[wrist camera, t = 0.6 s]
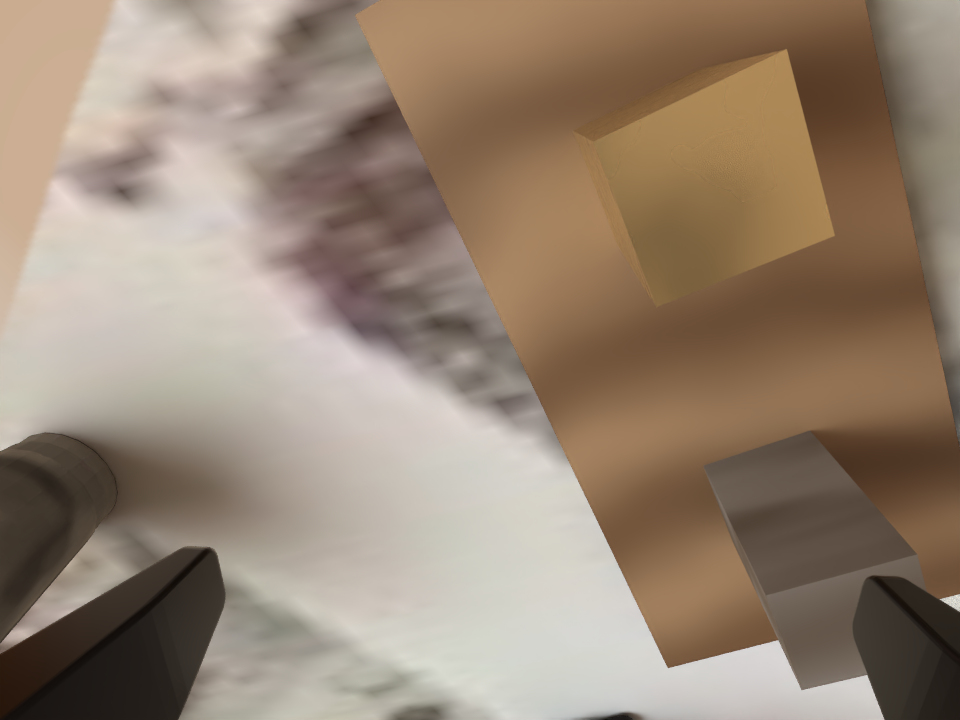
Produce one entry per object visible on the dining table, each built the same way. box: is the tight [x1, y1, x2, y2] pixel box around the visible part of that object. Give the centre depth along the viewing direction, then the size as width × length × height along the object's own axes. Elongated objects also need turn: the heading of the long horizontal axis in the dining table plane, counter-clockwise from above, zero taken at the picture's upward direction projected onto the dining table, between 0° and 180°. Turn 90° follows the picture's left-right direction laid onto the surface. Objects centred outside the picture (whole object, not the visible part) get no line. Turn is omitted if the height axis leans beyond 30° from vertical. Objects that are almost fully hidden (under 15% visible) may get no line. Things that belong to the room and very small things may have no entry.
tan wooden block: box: [573, 49, 835, 307], centre depth 14 cm, size 4×4×6 cm
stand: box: [355, 0, 960, 690], centre depth 17 cm, size 26×12×8 cm, turn 26°
